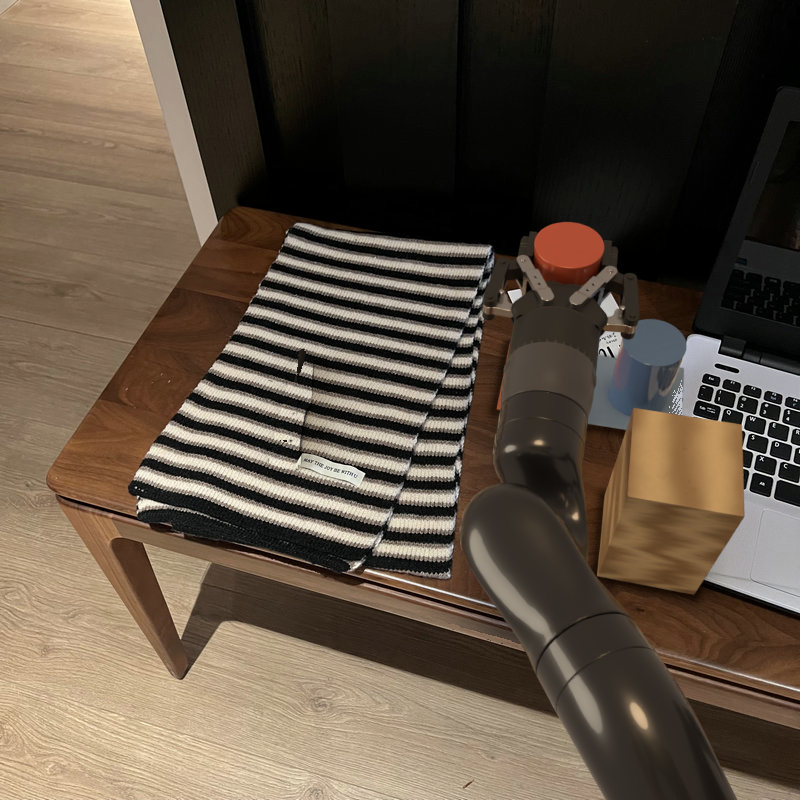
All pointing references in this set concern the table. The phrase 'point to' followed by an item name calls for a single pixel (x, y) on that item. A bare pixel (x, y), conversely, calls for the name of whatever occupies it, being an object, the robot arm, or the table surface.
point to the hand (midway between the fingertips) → (569, 243)
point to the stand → (671, 500)
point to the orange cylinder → (568, 253)
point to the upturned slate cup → (646, 367)
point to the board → (602, 406)
